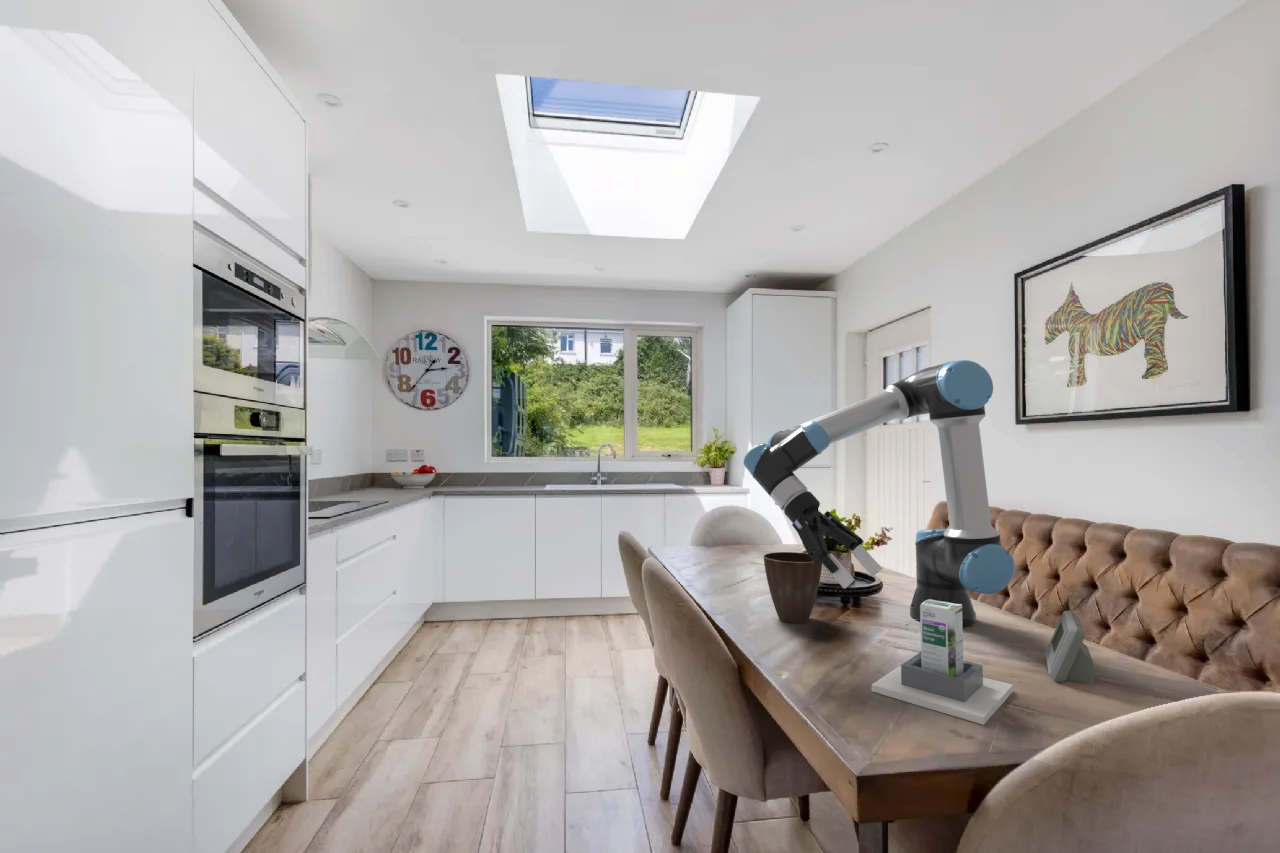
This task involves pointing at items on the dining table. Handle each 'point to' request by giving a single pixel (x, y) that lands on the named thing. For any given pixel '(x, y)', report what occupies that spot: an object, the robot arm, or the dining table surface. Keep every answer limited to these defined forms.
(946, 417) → the robot arm
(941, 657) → the syrup box
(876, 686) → the socket dock
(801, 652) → the dining table surface
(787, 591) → the plant pot
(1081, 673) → the digital clock
